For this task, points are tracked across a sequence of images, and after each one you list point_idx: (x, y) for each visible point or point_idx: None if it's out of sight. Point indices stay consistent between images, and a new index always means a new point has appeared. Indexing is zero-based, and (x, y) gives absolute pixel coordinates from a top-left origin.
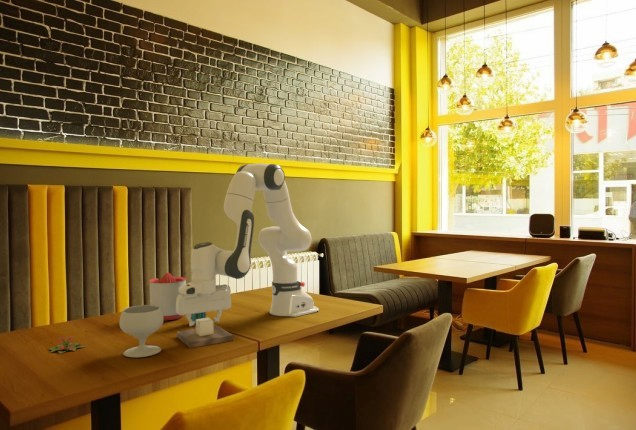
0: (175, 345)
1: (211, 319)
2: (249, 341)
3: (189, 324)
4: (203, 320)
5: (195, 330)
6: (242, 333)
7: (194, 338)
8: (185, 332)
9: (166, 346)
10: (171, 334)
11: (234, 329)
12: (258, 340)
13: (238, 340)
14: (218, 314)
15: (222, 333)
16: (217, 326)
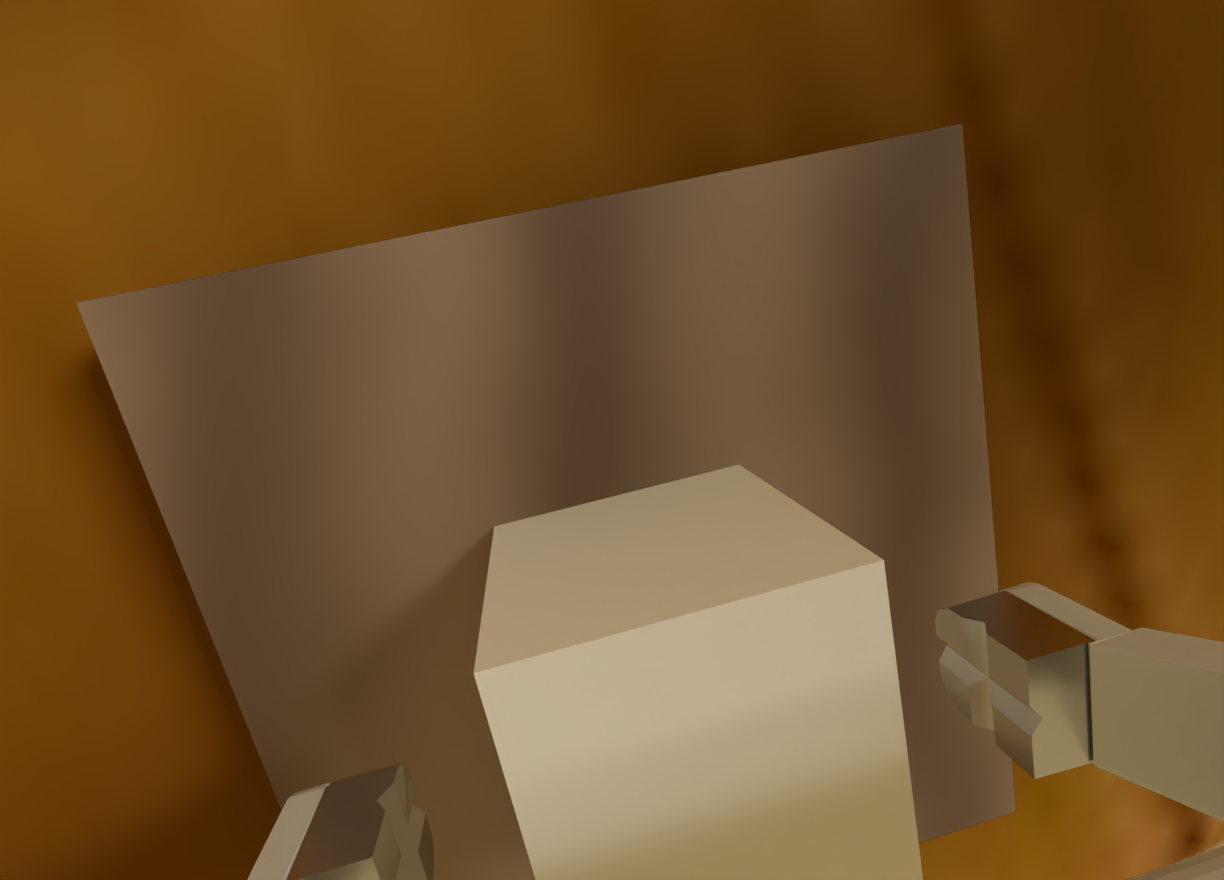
0: (165, 780)
1: (906, 786)
2: (1107, 828)
3: (294, 821)
4: (689, 833)
5: (494, 355)
6: (1159, 471)
7: (450, 854)
8: (283, 437)
9: (15, 797)
10: (5, 58)
11: (1140, 202)
12: (1200, 815)
13: (1015, 763)
14: (1215, 776)
15: (907, 693)
16: (939, 213)
